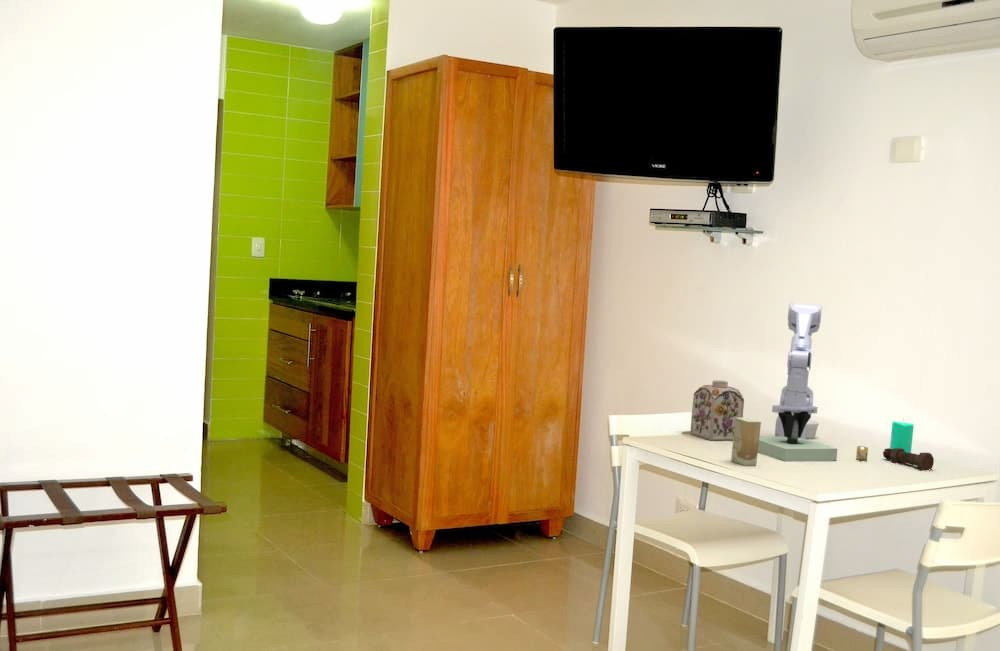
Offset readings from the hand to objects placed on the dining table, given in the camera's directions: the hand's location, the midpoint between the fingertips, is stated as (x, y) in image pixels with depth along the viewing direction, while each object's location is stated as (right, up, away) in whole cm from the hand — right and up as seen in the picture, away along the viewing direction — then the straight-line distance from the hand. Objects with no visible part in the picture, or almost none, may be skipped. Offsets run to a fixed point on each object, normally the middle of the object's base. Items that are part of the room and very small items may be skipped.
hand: (792, 437), depth 281 cm
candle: (+35, -7, +8) cm, 37 cm away
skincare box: (-19, -5, -18) cm, 27 cm away
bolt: (+32, -8, -3) cm, 33 cm away
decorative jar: (-18, -3, +21) cm, 28 cm away
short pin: (+20, -7, -2) cm, 21 cm away
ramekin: (+13, -4, +35) cm, 38 cm away
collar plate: (0, -5, 0) cm, 5 cm away
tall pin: (0, -2, 0) cm, 2 cm away
